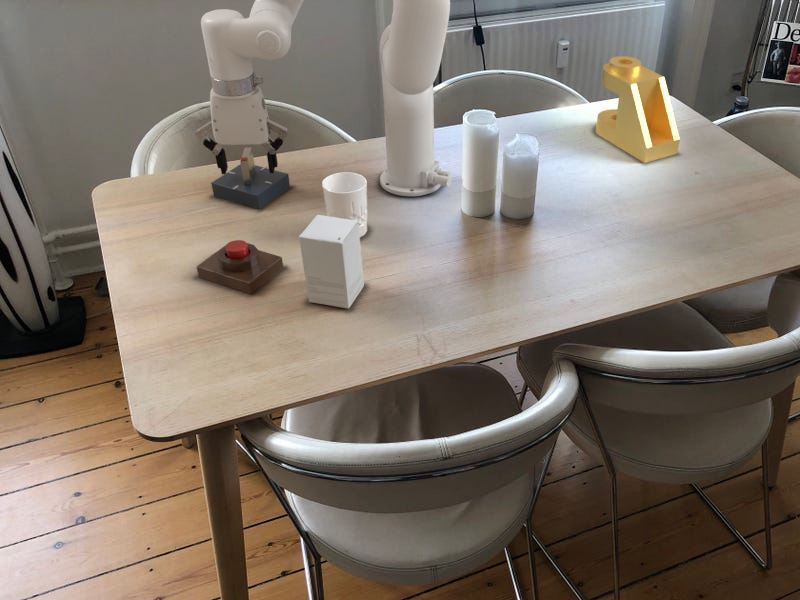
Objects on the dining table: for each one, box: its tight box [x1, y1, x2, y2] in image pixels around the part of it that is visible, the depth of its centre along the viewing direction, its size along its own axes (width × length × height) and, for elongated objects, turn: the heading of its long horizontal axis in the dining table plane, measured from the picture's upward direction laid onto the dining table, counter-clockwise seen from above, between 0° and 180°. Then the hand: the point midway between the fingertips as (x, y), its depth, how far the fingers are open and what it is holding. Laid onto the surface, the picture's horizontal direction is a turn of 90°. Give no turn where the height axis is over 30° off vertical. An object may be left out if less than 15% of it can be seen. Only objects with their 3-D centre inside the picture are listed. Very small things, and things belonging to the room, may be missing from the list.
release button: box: [224, 239, 249, 259], centre depth 140 cm, size 4×4×2 cm
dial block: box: [210, 164, 291, 210], centre depth 164 cm, size 11×10×3 cm
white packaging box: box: [298, 214, 365, 310], centre depth 134 cm, size 7×7×13 cm
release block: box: [196, 242, 284, 295], centre depth 142 cm, size 11×9×4 cm
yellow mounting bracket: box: [595, 55, 681, 164], centre depth 181 cm, size 20×9×16 cm, turn 31°
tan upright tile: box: [239, 147, 256, 185], centre depth 161 cm, size 6×1×5 cm, turn 4°
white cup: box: [321, 171, 368, 238], centre depth 151 cm, size 8×8×10 cm
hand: (248, 170), depth 162 cm, fingers open, 8 cm apart
